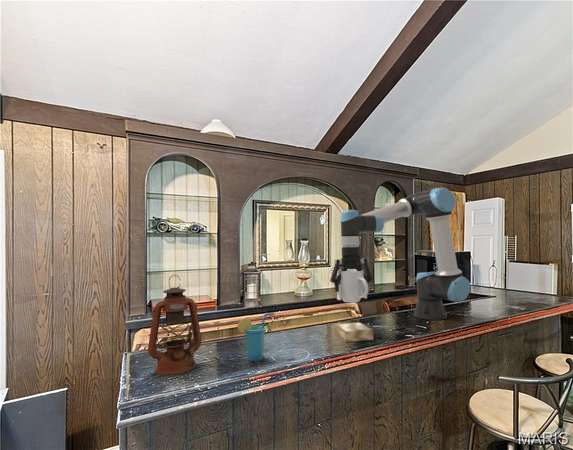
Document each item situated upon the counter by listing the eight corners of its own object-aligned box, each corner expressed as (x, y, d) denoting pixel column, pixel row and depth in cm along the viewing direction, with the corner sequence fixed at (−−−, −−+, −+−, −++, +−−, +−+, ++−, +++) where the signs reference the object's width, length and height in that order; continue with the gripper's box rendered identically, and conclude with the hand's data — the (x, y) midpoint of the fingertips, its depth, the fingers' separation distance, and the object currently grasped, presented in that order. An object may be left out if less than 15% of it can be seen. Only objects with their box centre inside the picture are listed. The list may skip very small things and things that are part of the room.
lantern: (150, 380, 95) (150, 278, 96) (145, 366, 106) (145, 275, 108) (206, 368, 103) (206, 274, 105) (197, 356, 114) (196, 272, 116)
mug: (377, 302, 131) (376, 270, 131) (358, 306, 125) (356, 272, 125) (351, 298, 143) (350, 268, 144) (332, 301, 137) (331, 270, 138)
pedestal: (360, 331, 141) (360, 322, 141) (373, 339, 129) (373, 329, 129) (334, 333, 138) (334, 324, 138) (345, 342, 126) (345, 331, 127)
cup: (269, 351, 118) (268, 309, 119) (280, 357, 112) (279, 313, 112) (234, 359, 111) (233, 315, 111) (244, 366, 104) (243, 319, 105)
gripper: (371, 245, 142) (373, 295, 140) (321, 247, 137) (322, 298, 136) (379, 246, 134) (381, 298, 133) (327, 247, 130) (328, 301, 128)
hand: (352, 298), depth 134 cm, fingers closed on mug, 11 cm apart
